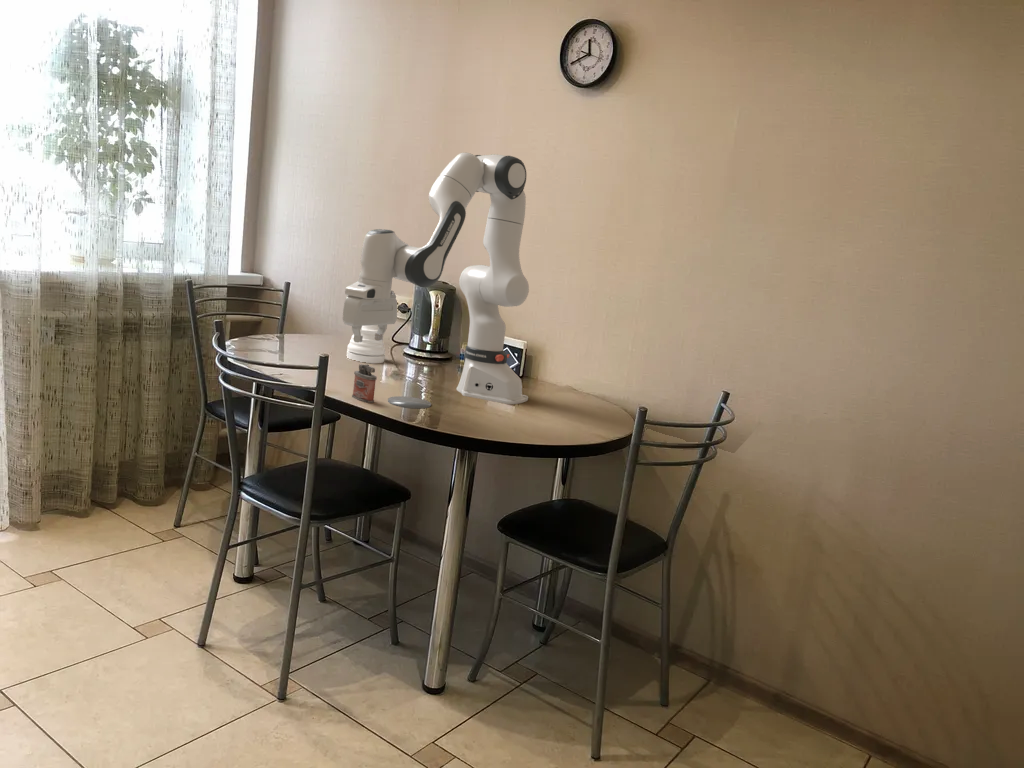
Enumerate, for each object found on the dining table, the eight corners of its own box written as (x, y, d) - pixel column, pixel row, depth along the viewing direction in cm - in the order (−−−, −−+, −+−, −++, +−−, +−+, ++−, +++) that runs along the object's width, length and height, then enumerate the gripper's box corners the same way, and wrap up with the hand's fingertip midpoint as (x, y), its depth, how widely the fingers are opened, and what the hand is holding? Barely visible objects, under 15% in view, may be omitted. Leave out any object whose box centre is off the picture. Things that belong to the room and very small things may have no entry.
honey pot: (372, 358, 283) (377, 308, 280) (390, 366, 274) (396, 314, 270) (339, 358, 275) (344, 306, 271) (357, 366, 265) (363, 312, 262)
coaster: (438, 406, 224) (439, 403, 224) (415, 412, 214) (416, 409, 213) (403, 397, 229) (403, 394, 229) (379, 402, 218) (379, 399, 218)
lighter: (348, 397, 220) (352, 362, 218) (358, 396, 222) (362, 361, 220) (366, 404, 214) (370, 368, 213) (376, 403, 217) (380, 367, 215)
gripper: (386, 288, 223) (380, 337, 226) (341, 288, 205) (335, 340, 207) (405, 292, 221) (399, 341, 223) (361, 292, 202) (355, 345, 205)
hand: (368, 341), depth 215 cm, fingers open, 8 cm apart
